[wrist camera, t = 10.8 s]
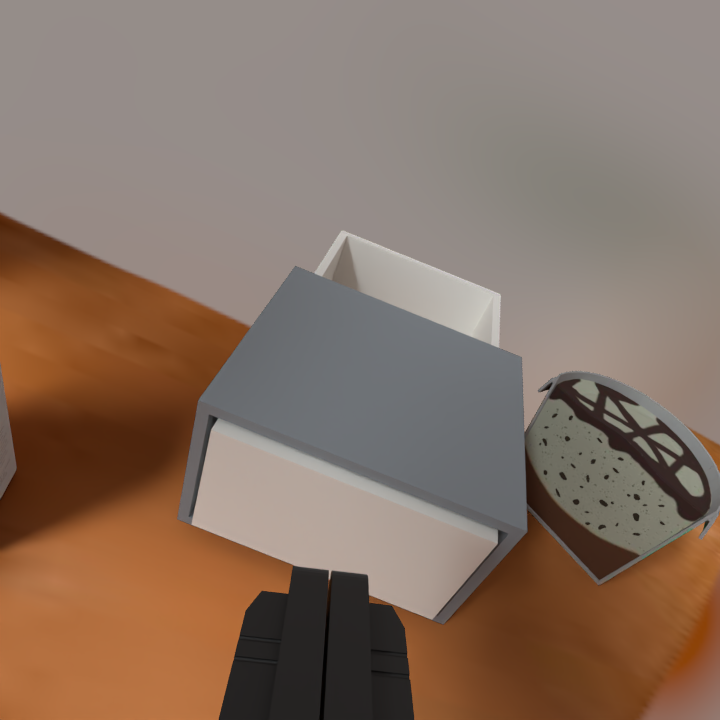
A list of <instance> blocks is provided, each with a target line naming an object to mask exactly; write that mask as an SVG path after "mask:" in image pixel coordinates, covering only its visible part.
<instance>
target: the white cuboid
mask: <svg viewBox="0 0 720 720" xmlns="http://www.w3.org/2000/svg"><path fill="white" fill-rule="evenodd" d="M314 274H317V275H319V276H322V277H324V278H327V279H329V280H332V281H334V282H337V283H339V284H342V285H344V286H347V287H349V288H351V289H354V290H356V291H359V292H361V293H364V294H366V295H369V296H371V297H374V298H376V299H379V300H381V301H384V302H386V303H389V304H391V305H394V306H396V307H399V308H401V309H404V310H406V311H409V312H411V313H413V314H416V315H418V316H421V317H423V318H426V319H428V320H431V321H433V322H436V323H438V324H441V325H443V326H446V327H448V328H451V329H453V330H456V331H458V332H461V333H463V334H466V335H468V336H471V337H473V338H475V339H478V340H480V341H483V342H485V343H488V344H490V345H493V346H495V347H498V348H499V337H500V300H501V295H500V294H499V293H496V292H494V291H491V290H489V289H486V288H484V287H481V286H479V285H477V284H474V283H471V282H469V281H466V280H464V279H461V278H459V277H457V276H454V275H452V274H449V273H447V272H444V271H442V270H439V269H437V268H435V267H432V266H430V265H427V264H424V263H422V262H420V261H417V260H415V259H412V258H410V257H407V256H404V255H402V254H400V253H397V252H395V251H392V250H390V249H388V248H385V247H382V246H380V245H378V244H375V243H373V242H370V241H368V240H365V239H363V238H360V237H358V236H355V235H353V234H350V233H348V232H345V231H343V230H342V231H341V232H340V234H339V235H338V237H337V238H336V240H335V242H334V243H333V245H332V246H331V248H330V249H329V251H328V252H327V254H326V256H325V257H324V259H323V260H322V262H321V264H320V265H319V267H318V268H317V270H316V271H315V273H314ZM191 525H194V526H196V527H199V528H201V529H204V530H206V531H209V532H211V533H214V534H216V535H219V536H221V537H224V538H226V539H229V540H232V541H234V542H237V543H239V544H242V545H244V546H247V547H249V548H252V549H254V550H257V551H259V552H262V553H264V554H267V555H269V556H272V557H274V558H277V559H280V560H282V561H285V562H287V563H290V564H292V565H295V566H298V567H307V568H315V569H324V570H329V579H330V576H331V571H332V570H333V571H342V572H350V573H359V574H367V575H368V582H369V595H370V596H373V597H376V598H378V599H381V600H383V601H386V602H388V603H391V604H393V605H396V606H398V607H401V608H403V609H406V610H408V611H411V612H413V613H416V614H419V615H421V616H424V617H426V618H429V619H431V620H432V619H433V618H434V617H435V616H436V615H437V614H438V612H439V611H440V610H441V609H442V608H443V607H444V605H445V604H446V603H447V602H448V601H449V600H450V599H451V597H452V596H453V595H454V594H455V593H456V592H457V590H458V589H459V588H460V587H461V586H462V585H463V583H464V582H465V581H466V580H467V579H468V578H469V576H470V575H471V574H472V573H473V572H474V571H475V570H476V568H477V567H478V566H479V565H480V564H481V563H482V561H483V560H484V559H485V558H486V557H487V556H488V554H489V553H490V552H491V551H492V550H493V549H494V548H495V546H496V545H497V544H498V529H495V528H493V527H490V526H488V525H485V524H483V523H480V522H478V521H475V520H473V519H470V518H468V517H465V516H463V515H460V514H458V513H455V512H453V511H450V510H448V509H445V508H443V507H440V506H438V505H435V504H433V503H430V502H428V501H425V500H423V499H420V498H418V497H415V496H413V495H410V494H408V493H405V492H403V491H400V490H398V489H395V488H393V487H390V486H388V485H385V484H383V483H380V482H378V481H375V480H373V479H370V478H368V477H365V476H363V475H360V474H357V473H355V472H352V471H350V470H347V469H345V468H342V467H340V466H337V465H335V464H332V463H330V462H327V461H325V460H322V459H320V458H317V457H315V456H312V455H310V454H307V453H305V452H302V451H300V450H297V449H295V448H292V447H290V446H287V445H285V444H282V443H280V442H277V441H275V440H272V439H270V438H267V437H265V436H262V435H260V434H257V433H255V432H252V431H250V430H247V429H245V428H242V427H240V426H237V425H235V424H232V423H230V422H227V421H225V420H222V419H220V418H218V420H217V421H216V423H215V424H214V426H213V428H212V429H211V433H210V438H209V442H208V447H207V452H206V457H205V462H204V466H203V471H202V476H201V481H200V486H199V490H198V495H197V500H196V505H195V509H194V514H193V519H192V524H191Z"/></svg>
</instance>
